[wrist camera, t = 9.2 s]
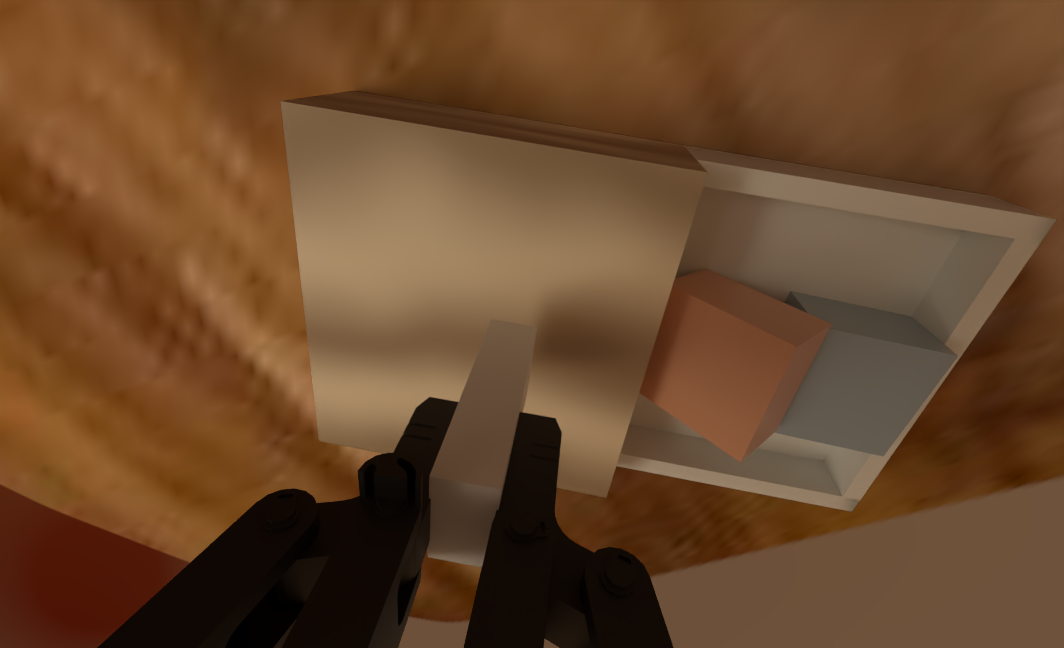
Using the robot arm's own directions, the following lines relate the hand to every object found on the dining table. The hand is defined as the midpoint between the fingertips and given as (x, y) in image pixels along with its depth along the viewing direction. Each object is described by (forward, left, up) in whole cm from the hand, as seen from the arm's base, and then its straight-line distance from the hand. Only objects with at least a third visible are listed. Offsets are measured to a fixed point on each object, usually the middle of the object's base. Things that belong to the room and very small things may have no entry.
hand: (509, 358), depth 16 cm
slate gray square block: (+1, +13, -3) cm, 13 cm away
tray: (0, +11, -7) cm, 13 cm away
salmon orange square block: (0, +9, -4) cm, 10 cm away
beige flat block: (0, -2, -7) cm, 7 cm away
